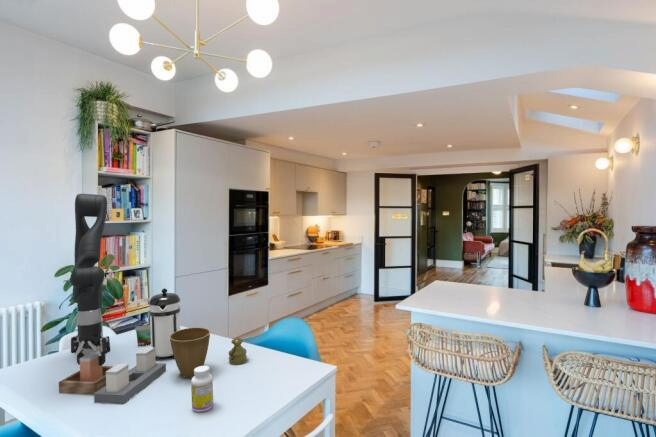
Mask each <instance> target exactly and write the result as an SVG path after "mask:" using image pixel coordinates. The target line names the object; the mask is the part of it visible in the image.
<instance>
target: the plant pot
mask: <svg viewBox="0 0 656 437" xmlns="http://www.w3.org/2000/svg"><path fill="white" fill-rule="evenodd" d="M210 338H211V331H210V330H209V329H208V328H205V327H196V326H195V327H188V328H182V329H180V330H179V331H176V332H174V333H172V334H171V335H170V342H171V347H172V351H173V355H174V357H173V358H174V361H175V364H176V367H177V369H178V372H179V373H180V376H181V377H183V378H187V379H188V378H193V377H194V376H195V374H194V369H195V368H197V367H199V366H205V362H206V359H207V354H208V351H209V349H208V348H209V343H210Z"/></svg>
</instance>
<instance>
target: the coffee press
mask: <svg viewBox="0 0 656 437" xmlns="http://www.w3.org/2000/svg"><path fill="white" fill-rule="evenodd" d="M180 302H181V297H180V296H179V295H178V294H176V293H175V292H168V290H167V288H162V289H161V293H157V294H155V295H153V296H152V297H150V299H149V301H148V305H149V309H148V310H149V313H148V314H149V322H150V329H151V345H150V347H155V360H157V359H158V358H166V357H171V356H172V357H173V358H174V355H173V351H172V347H171V342H170V335H171V334H172V333H174V332H176V331H179V330H181V306H180Z"/></svg>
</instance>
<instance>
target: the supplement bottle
mask: <svg viewBox="0 0 656 437" xmlns="http://www.w3.org/2000/svg"><path fill="white" fill-rule="evenodd" d="M194 374H195V376H194V377H191V380H190V386H191V409H192V410H193V411H194V412H196V413H204V412H208V411H209V410H210V409H212V408H213V407H214V383H213V382H214V381H213V380H214V378H213V375H212V374H211V373H210V366H209V365H204V366H199V367H197V368H195V369H194Z"/></svg>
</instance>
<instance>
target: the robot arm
mask: <svg viewBox="0 0 656 437" xmlns="http://www.w3.org/2000/svg"><path fill="white" fill-rule="evenodd" d="M107 212H108V199H107V196H105V195H104V194H103V195H102V194H93V193H78V194H77V195H76V196H75V199H74V216H75V217H74V220H75V238H74V239H75V240H74V266H73V269H72V271H71V273H70V277H69V280H70V284H71V286H72V299H73V302H74V303H75V304H76V305H77V315H76V321H77V322H76V323H77V324H76V325H77V326H76V327H77V335H74V336H72V337H71V338H70V353H71V354H75V355H76V363H77V365H78V366H80V359H79V358H81V357H83V356H85V355H87V354H89V353H91V352H97V354H98V355H99V356H98V365H99V366H101V365H102V366H104V364H105V363H106V355H107V354H108V353H110V352H111V342H110V336H109V335H107V336H105V337H104V335H103V334H104V333H103V332H104V328H103V305H102V304H103V283H104V280H105V270H104V269H103V268H102V267H100V266H96V264H97V263H99V262H100V260H101V249H102V247H101V246H102V239H103V234H104V227H105V223H106V218H107ZM86 218H96V220H95V222H94V223H93V224H92V226H91V227H90V226H89V225H88V223H87V221H86Z"/></svg>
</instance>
